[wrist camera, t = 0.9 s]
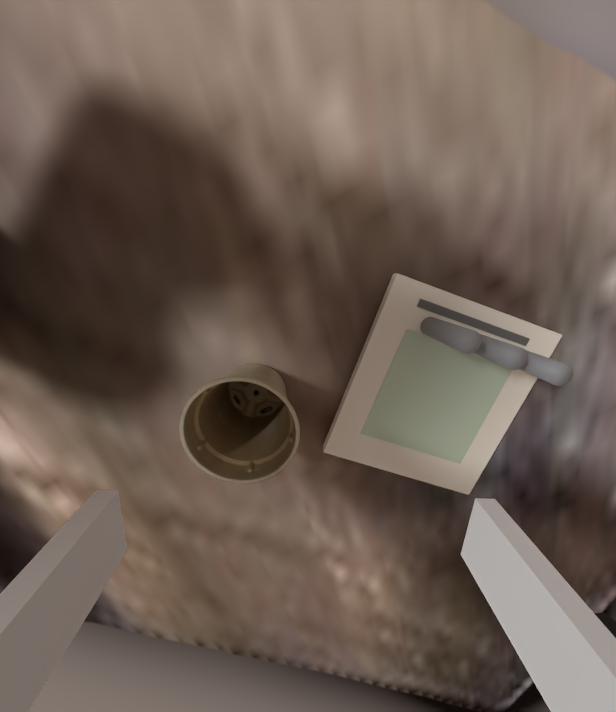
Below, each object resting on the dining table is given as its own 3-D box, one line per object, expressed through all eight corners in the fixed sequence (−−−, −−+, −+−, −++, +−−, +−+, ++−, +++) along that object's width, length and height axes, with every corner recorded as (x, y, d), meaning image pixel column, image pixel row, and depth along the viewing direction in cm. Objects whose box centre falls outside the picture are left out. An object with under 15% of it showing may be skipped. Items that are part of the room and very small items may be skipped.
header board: (322, 446, 33) (329, 500, 25) (393, 273, 28) (429, 272, 20) (463, 487, 35) (510, 549, 27) (552, 332, 30) (642, 353, 22)
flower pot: (262, 445, 33) (249, 504, 25) (194, 395, 31) (154, 439, 23) (318, 387, 31) (324, 428, 23) (249, 330, 29) (228, 352, 21)
